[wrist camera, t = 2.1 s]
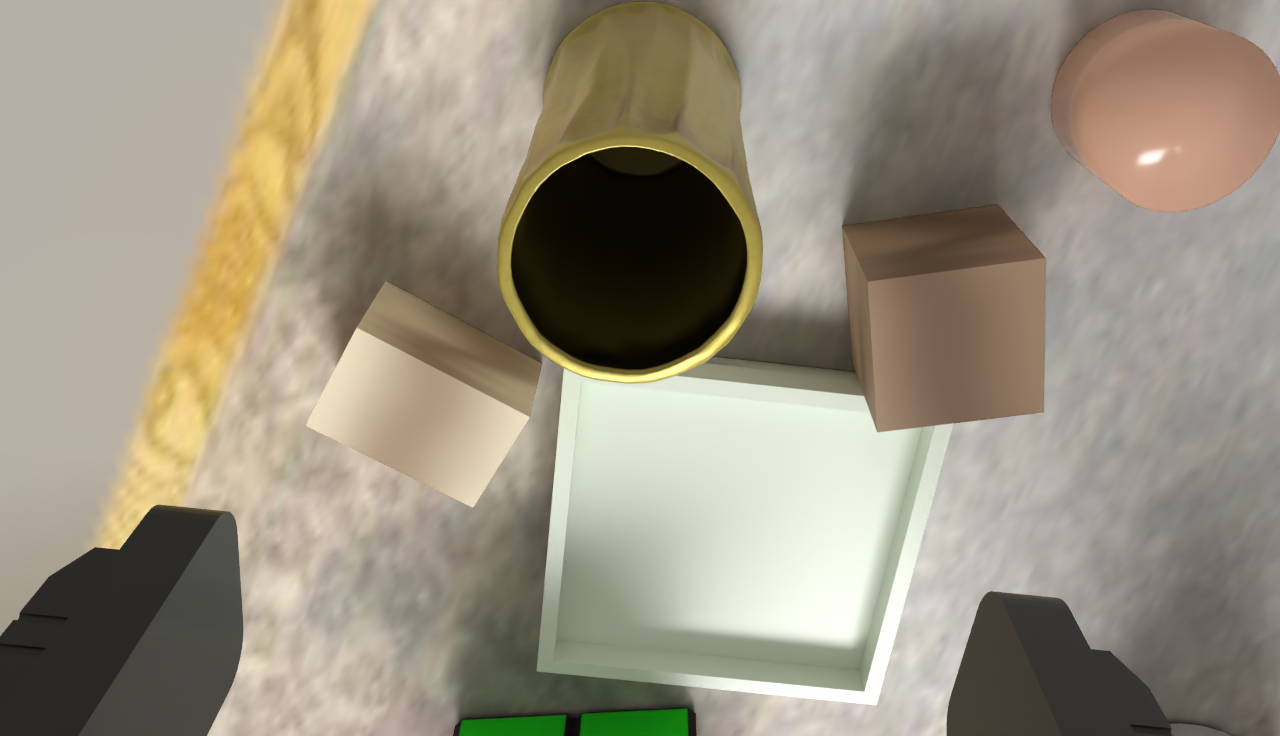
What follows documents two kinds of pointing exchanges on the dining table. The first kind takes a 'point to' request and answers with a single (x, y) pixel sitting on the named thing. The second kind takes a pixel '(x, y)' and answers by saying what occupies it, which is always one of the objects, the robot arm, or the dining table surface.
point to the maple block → (428, 395)
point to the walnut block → (946, 317)
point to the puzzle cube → (587, 724)
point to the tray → (733, 531)
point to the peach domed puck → (1167, 109)
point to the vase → (634, 202)
